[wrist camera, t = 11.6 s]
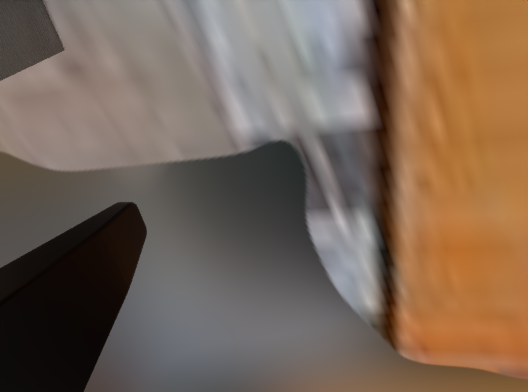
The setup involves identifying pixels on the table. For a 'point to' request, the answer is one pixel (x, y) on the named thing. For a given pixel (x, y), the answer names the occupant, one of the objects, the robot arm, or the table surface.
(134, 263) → the robot arm
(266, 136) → the table surface
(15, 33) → the bar
